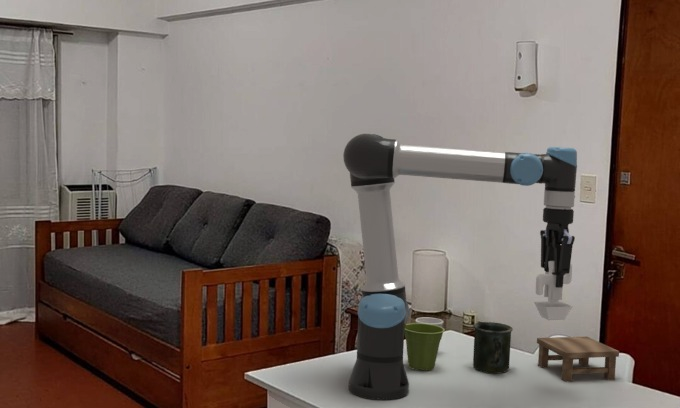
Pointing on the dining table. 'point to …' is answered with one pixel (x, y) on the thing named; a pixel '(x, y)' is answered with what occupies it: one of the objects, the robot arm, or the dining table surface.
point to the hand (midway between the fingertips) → (552, 298)
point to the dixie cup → (430, 321)
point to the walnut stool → (577, 355)
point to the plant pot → (422, 345)
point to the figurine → (552, 307)
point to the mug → (492, 347)
